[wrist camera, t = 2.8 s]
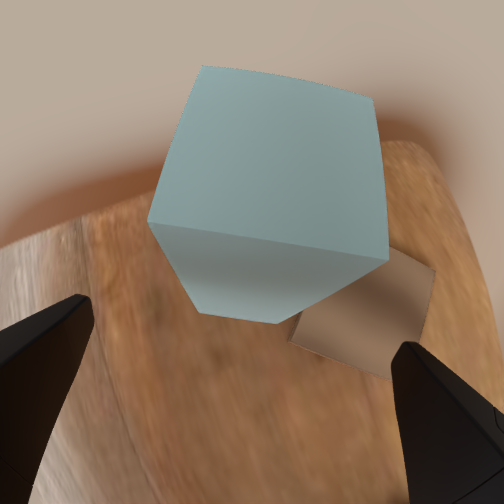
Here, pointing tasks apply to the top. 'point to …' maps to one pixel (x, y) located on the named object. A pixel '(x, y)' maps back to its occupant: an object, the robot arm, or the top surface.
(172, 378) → the top surface
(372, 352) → the base tile
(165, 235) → the pillar
